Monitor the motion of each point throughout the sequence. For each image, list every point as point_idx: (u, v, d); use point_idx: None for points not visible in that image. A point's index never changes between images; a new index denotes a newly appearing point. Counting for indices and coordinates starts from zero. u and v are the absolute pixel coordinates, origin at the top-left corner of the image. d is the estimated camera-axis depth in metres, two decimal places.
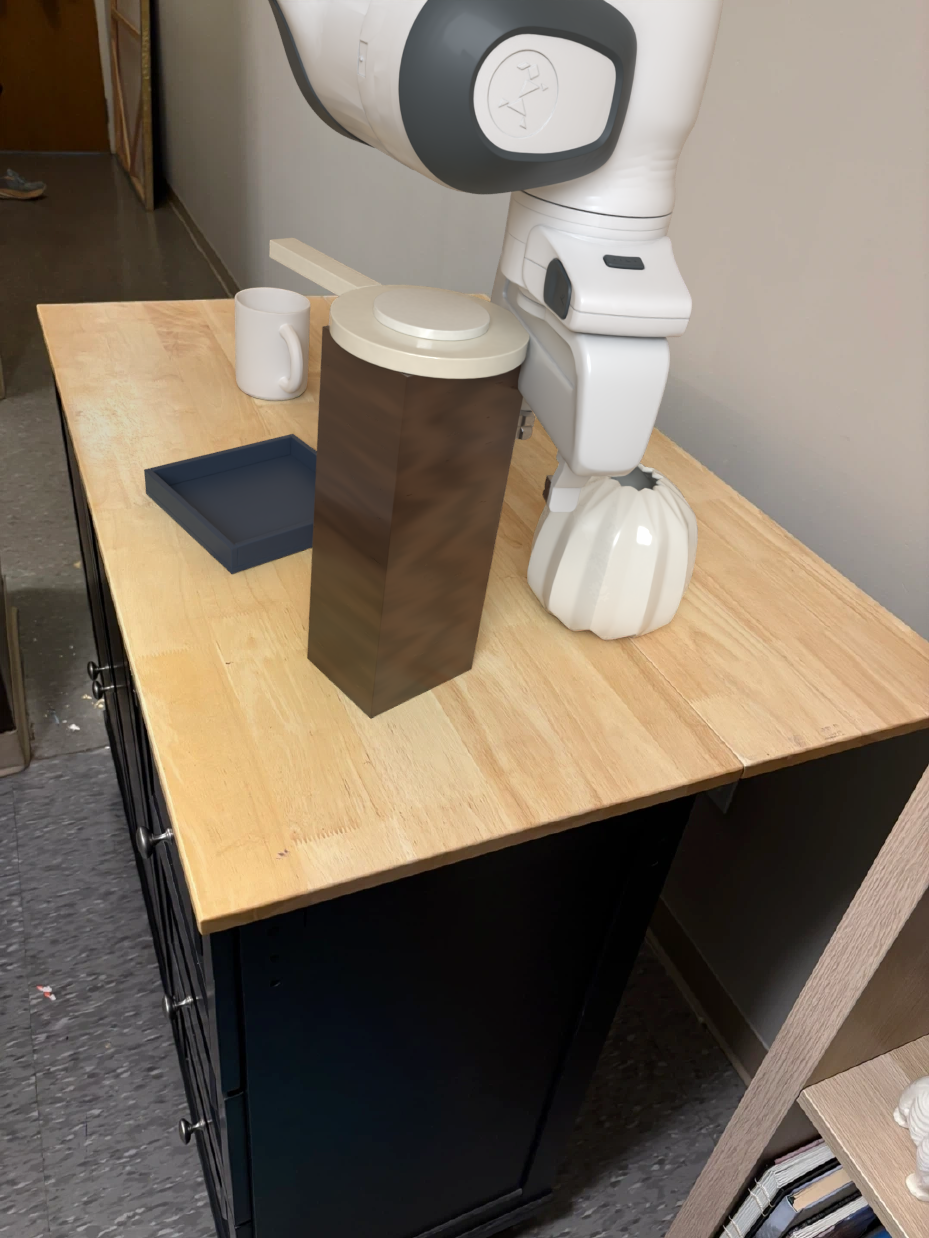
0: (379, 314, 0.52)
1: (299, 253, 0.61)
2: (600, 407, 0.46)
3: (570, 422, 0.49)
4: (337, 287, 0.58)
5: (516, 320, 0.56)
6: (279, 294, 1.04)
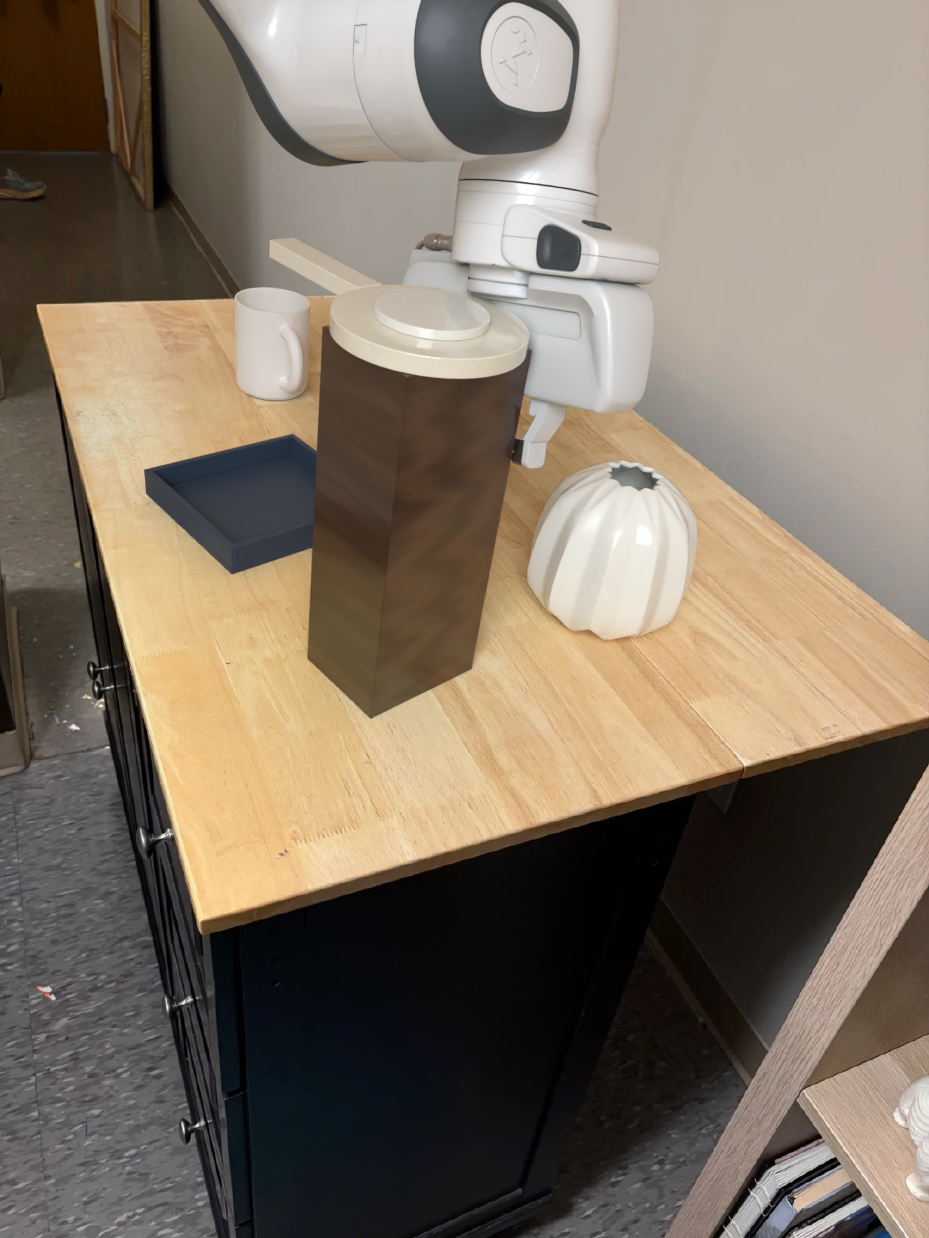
0: (379, 314, 0.52)
1: (299, 253, 0.61)
2: (621, 341, 0.52)
3: (582, 368, 0.54)
4: (337, 287, 0.58)
5: (516, 320, 0.56)
6: (279, 294, 1.04)
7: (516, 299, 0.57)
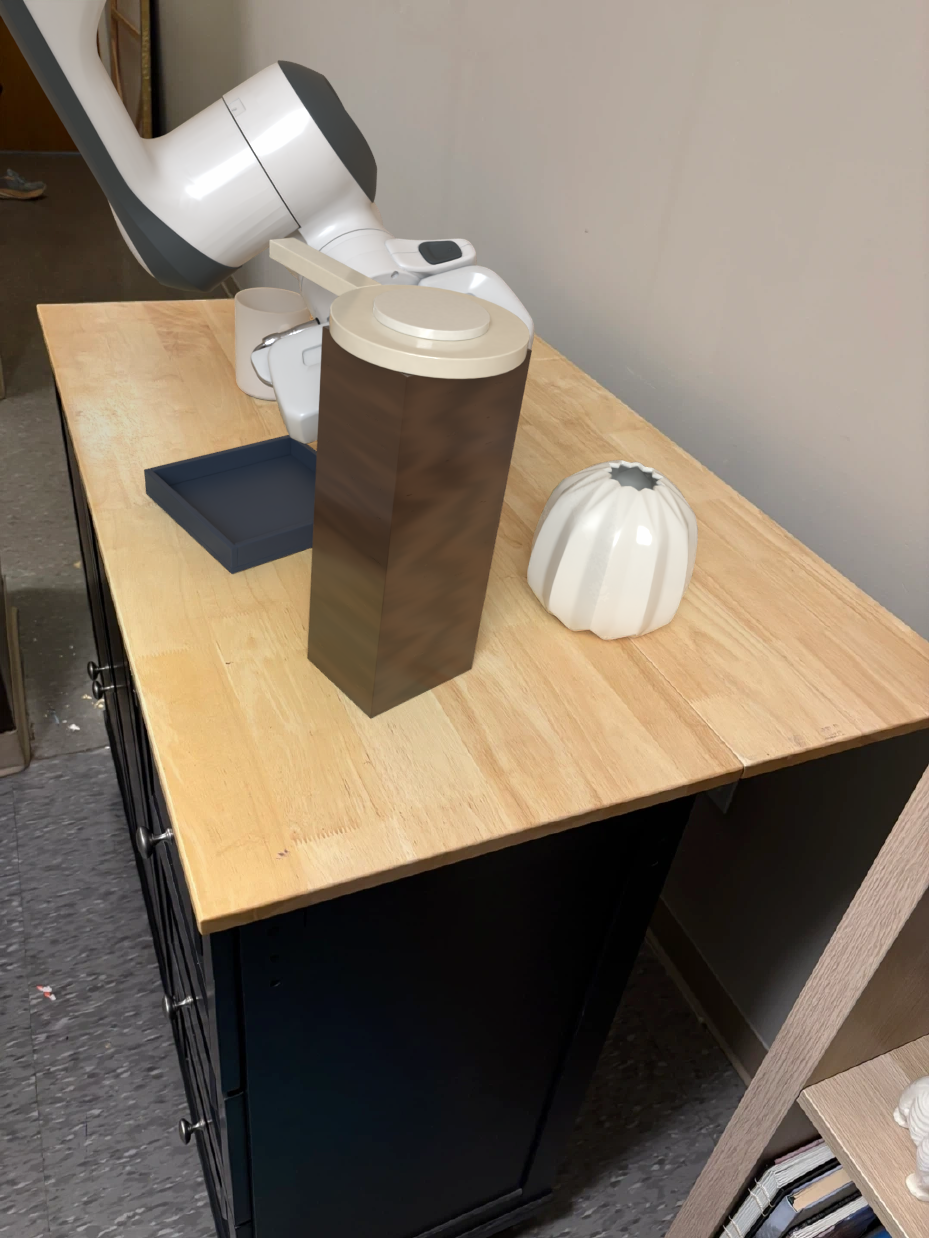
0: (379, 314, 0.52)
1: (299, 253, 0.61)
2: None
3: None
4: (337, 287, 0.58)
5: (516, 320, 0.56)
6: (279, 294, 1.04)
7: None
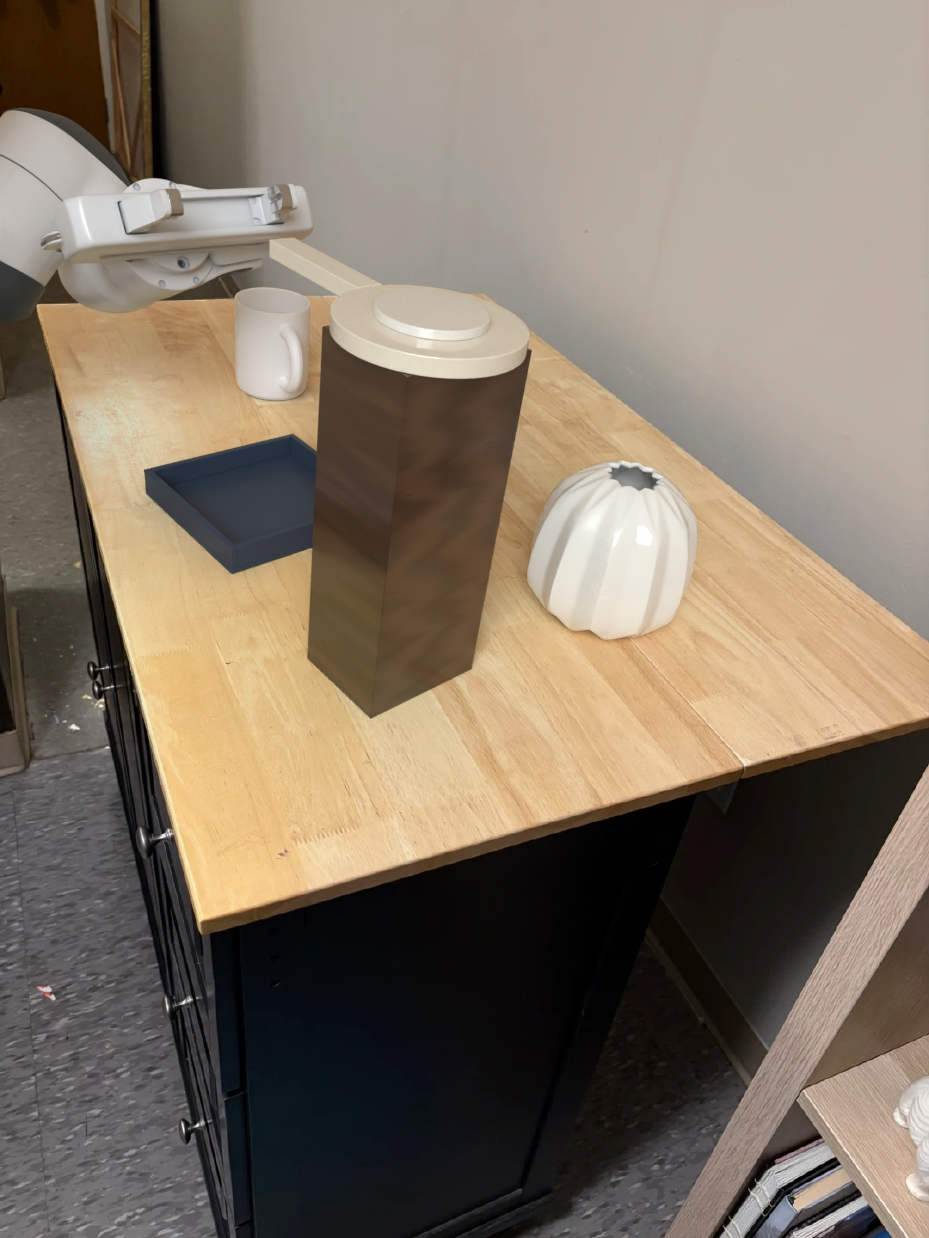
0: (379, 314, 0.52)
1: (299, 253, 0.61)
2: None
3: None
4: (337, 287, 0.58)
5: (516, 320, 0.56)
6: (279, 294, 1.04)
7: None
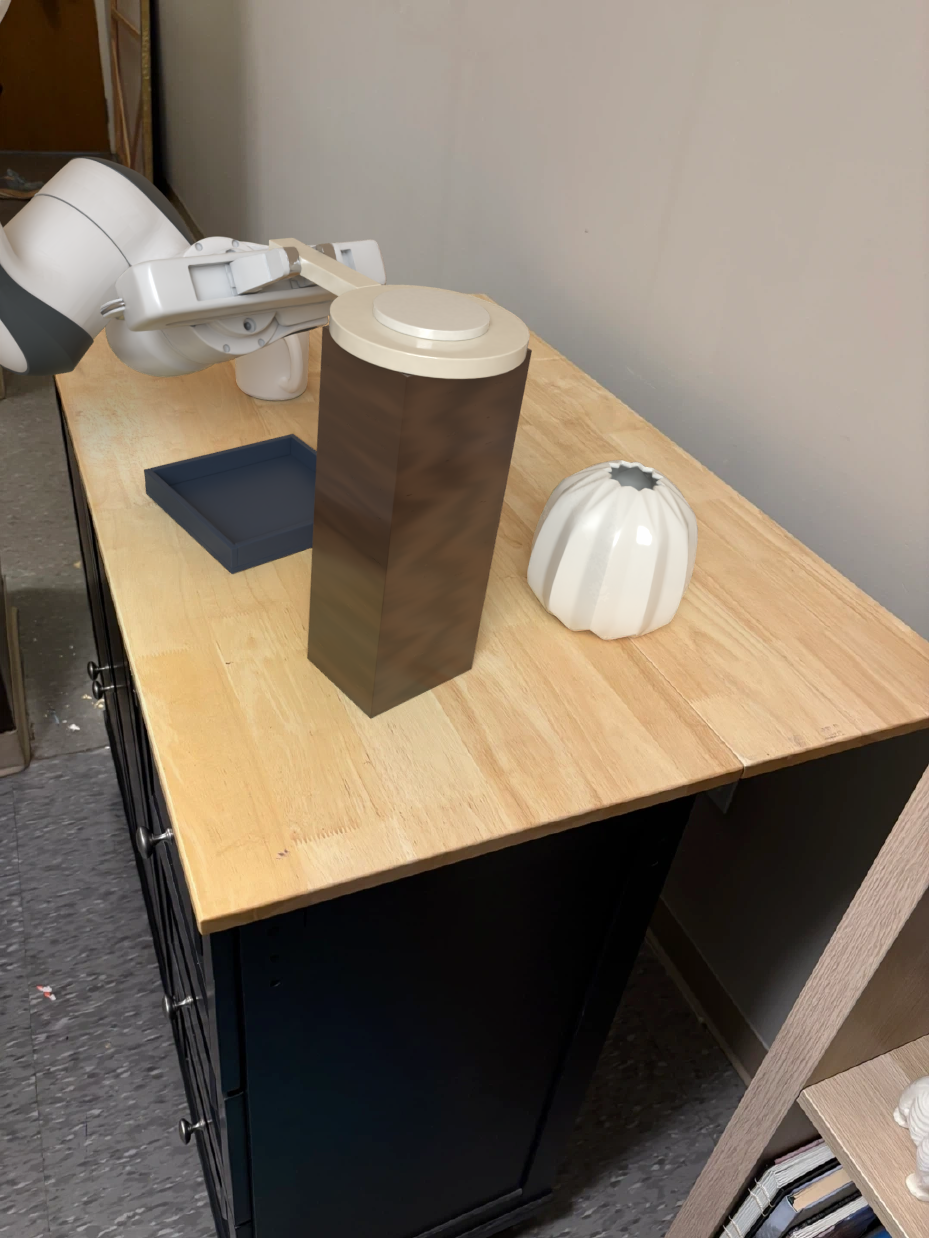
0: (379, 314, 0.52)
1: (299, 253, 0.61)
2: None
3: None
4: (337, 287, 0.58)
5: (516, 320, 0.56)
6: None
7: None
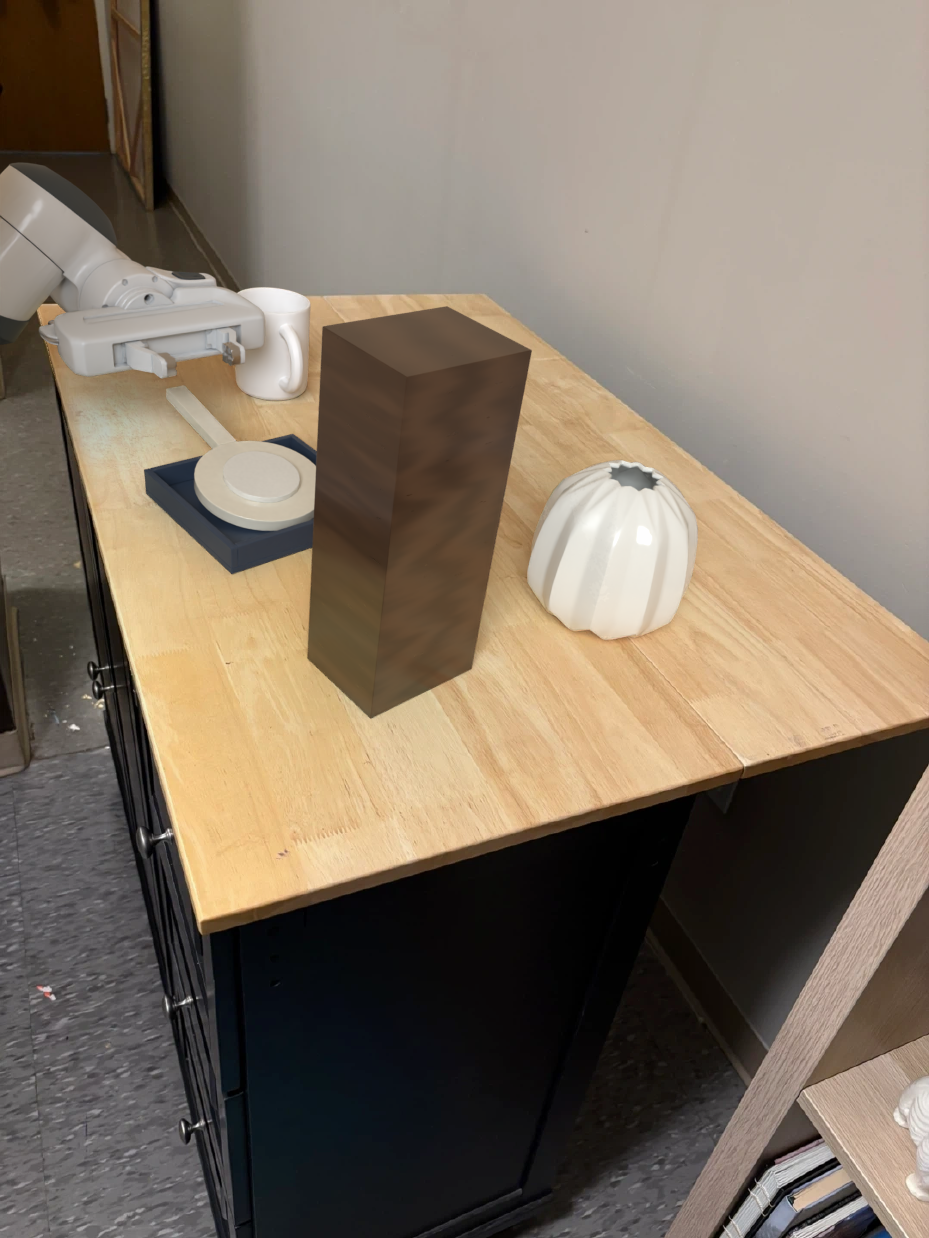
0: (225, 479, 0.83)
1: (185, 405, 0.90)
2: None
3: (237, 308, 0.93)
4: (206, 438, 0.88)
5: None
6: (279, 294, 1.04)
7: (166, 305, 0.91)
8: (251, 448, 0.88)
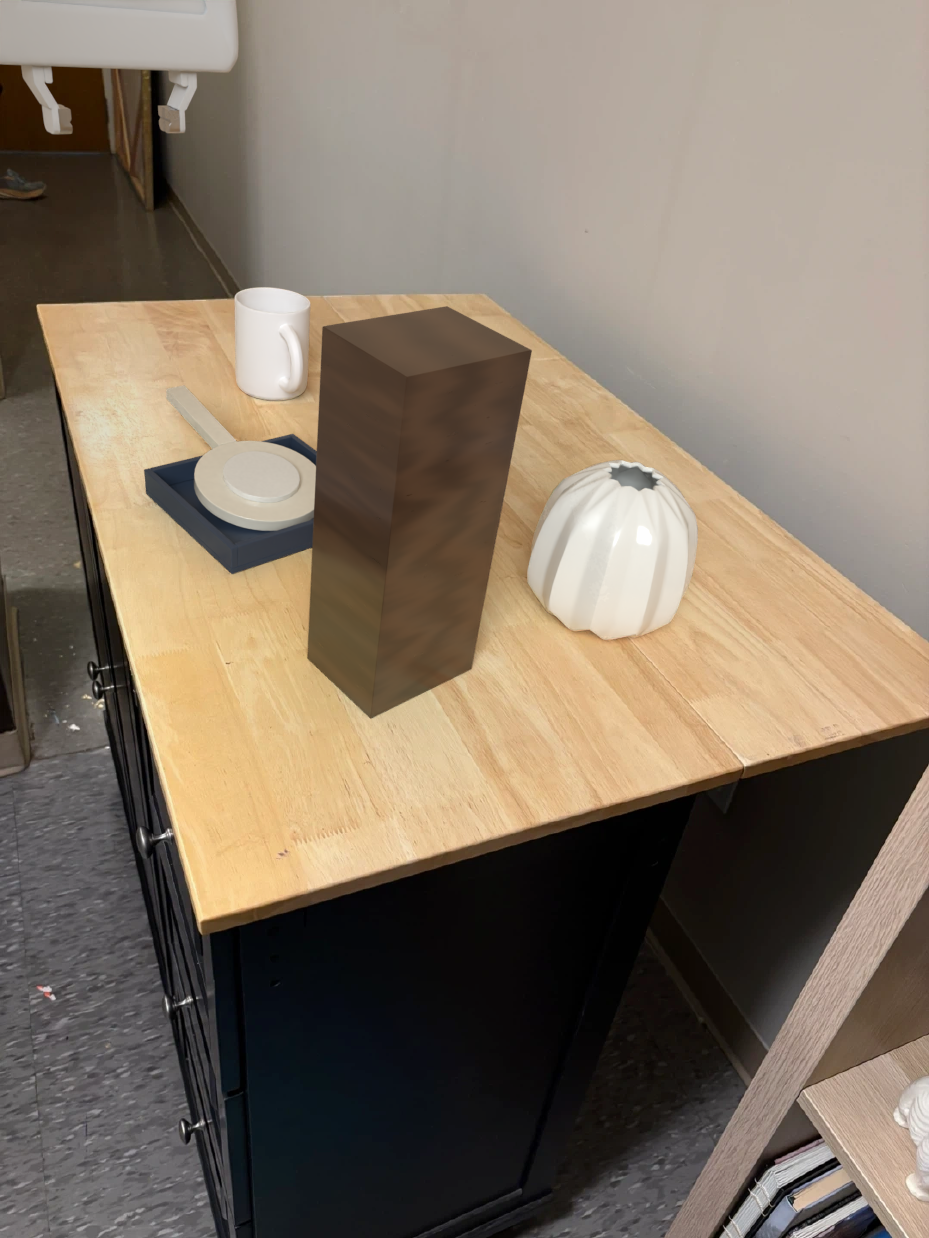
0: (225, 479, 0.83)
1: (185, 405, 0.90)
2: None
3: (214, 38, 0.72)
4: (206, 438, 0.88)
5: None
6: (279, 294, 1.04)
7: None
8: (251, 448, 0.88)
